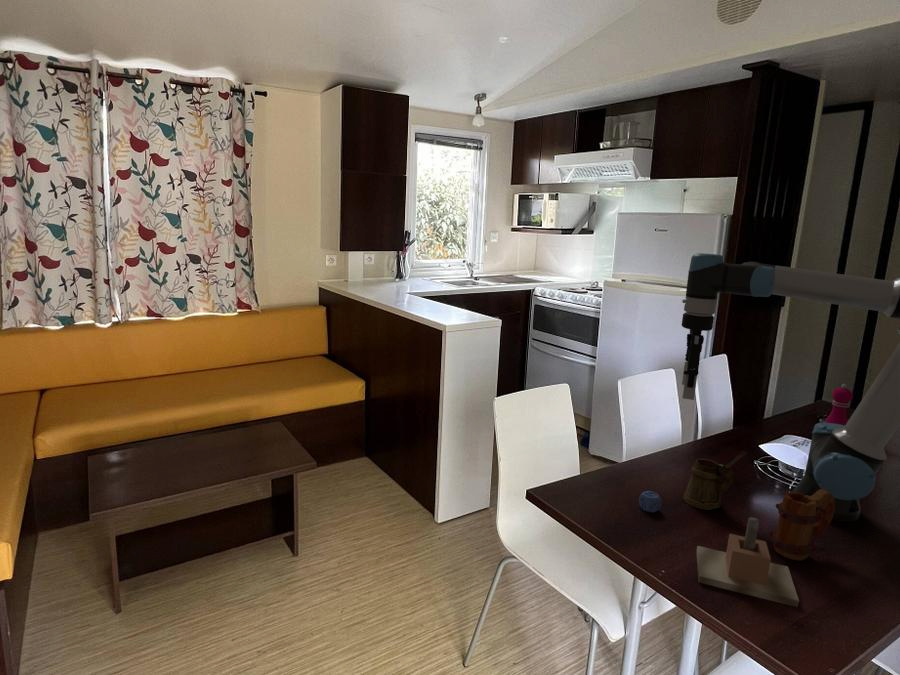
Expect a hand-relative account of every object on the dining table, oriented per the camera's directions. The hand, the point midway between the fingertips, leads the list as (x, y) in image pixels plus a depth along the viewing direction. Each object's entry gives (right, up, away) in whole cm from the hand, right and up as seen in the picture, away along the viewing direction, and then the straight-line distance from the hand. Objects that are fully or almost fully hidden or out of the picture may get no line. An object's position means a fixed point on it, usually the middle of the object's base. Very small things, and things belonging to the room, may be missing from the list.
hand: (687, 391), depth 151 cm
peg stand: (-1, -36, -32) cm, 48 cm away
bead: (-1, -35, -32) cm, 47 cm away
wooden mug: (+5, -30, -1) cm, 31 cm away
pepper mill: (+75, -22, +52) cm, 94 cm away
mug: (+16, -35, -21) cm, 44 cm away
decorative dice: (-12, -30, -4) cm, 33 cm away
